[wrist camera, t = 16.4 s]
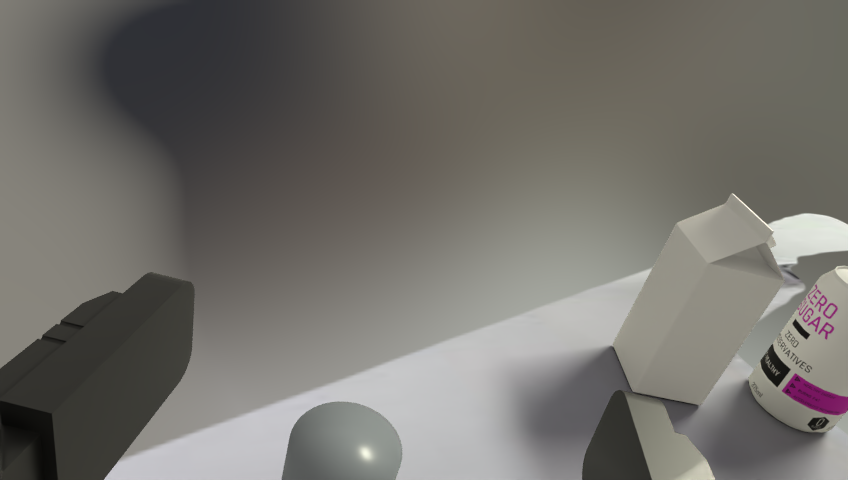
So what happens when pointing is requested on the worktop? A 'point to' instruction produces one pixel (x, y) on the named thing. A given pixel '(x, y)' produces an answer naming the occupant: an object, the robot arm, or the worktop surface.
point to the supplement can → (809, 360)
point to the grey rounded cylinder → (342, 445)
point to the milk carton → (699, 303)
